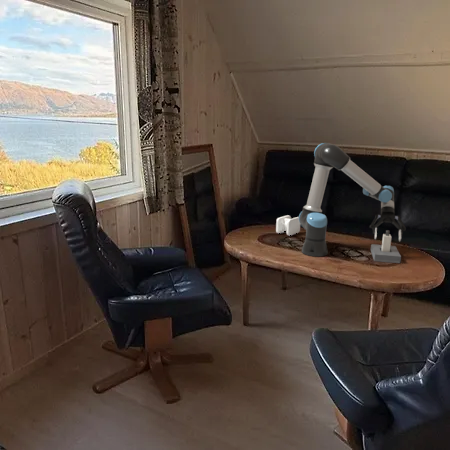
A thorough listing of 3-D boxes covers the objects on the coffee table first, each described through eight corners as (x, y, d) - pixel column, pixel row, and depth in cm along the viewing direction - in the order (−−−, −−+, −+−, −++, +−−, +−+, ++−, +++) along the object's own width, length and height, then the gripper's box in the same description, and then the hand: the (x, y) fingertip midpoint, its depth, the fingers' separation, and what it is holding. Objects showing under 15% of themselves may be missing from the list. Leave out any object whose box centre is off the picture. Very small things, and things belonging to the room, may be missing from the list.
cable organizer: (287, 237, 284) (288, 220, 281) (275, 234, 291) (275, 217, 288) (300, 232, 294) (301, 216, 291) (287, 230, 301) (288, 214, 298)
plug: (381, 255, 246) (384, 231, 242) (380, 253, 250) (383, 229, 246) (389, 256, 245) (392, 231, 241) (387, 253, 249) (390, 229, 246)
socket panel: (374, 261, 240) (374, 254, 239) (370, 250, 259) (371, 244, 258) (400, 263, 237) (401, 256, 236) (394, 252, 256) (395, 246, 255)
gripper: (407, 213, 257) (408, 244, 247) (365, 210, 263) (364, 240, 253) (410, 207, 251) (411, 238, 241) (367, 204, 256) (366, 234, 246)
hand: (387, 239), depth 247 cm, fingers open, 13 cm apart
